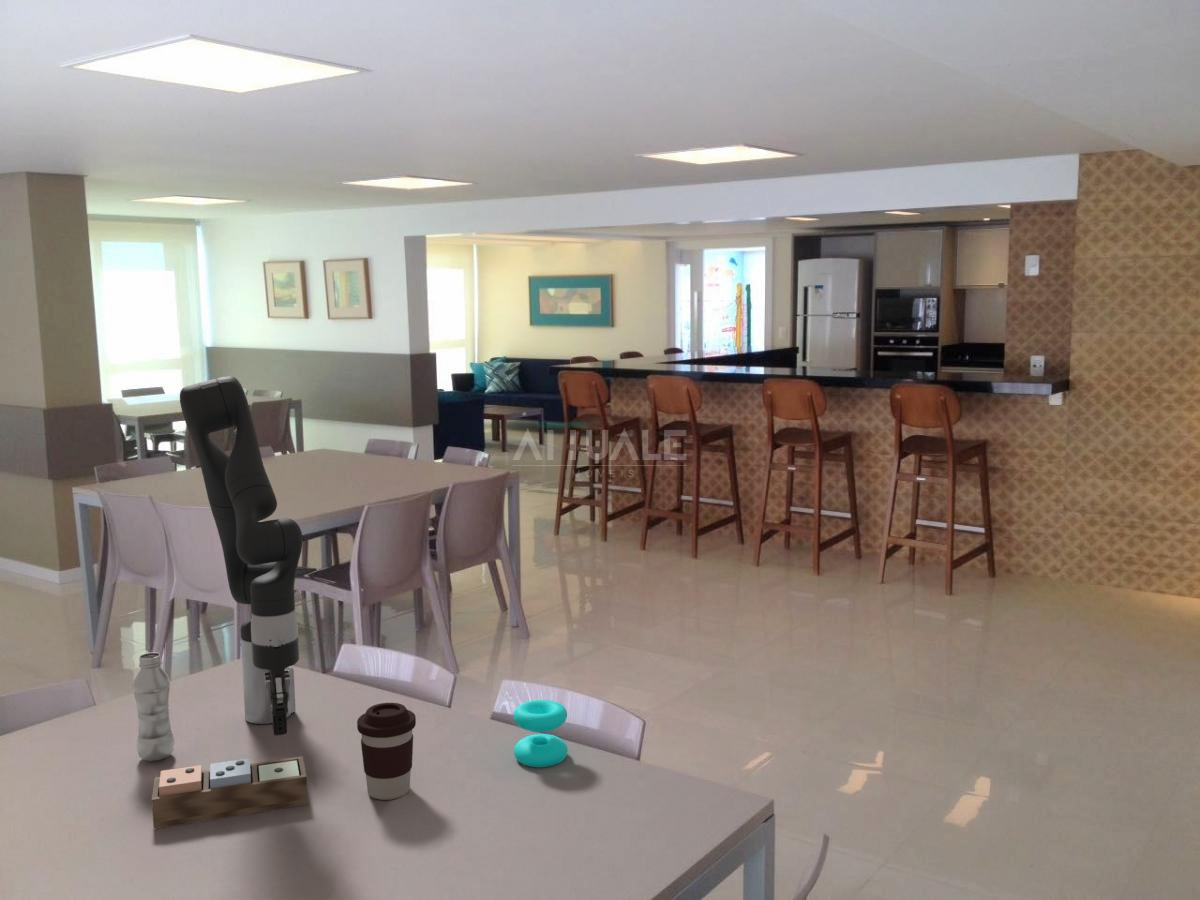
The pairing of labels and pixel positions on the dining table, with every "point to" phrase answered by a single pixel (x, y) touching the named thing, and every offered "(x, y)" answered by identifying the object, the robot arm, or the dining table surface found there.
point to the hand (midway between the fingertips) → (280, 733)
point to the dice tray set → (230, 797)
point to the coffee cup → (387, 749)
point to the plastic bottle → (153, 709)
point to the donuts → (540, 746)
